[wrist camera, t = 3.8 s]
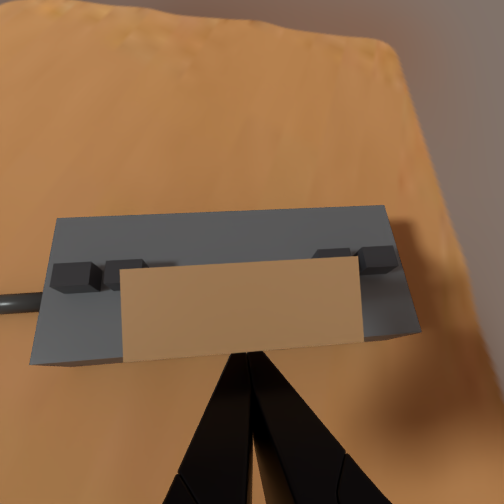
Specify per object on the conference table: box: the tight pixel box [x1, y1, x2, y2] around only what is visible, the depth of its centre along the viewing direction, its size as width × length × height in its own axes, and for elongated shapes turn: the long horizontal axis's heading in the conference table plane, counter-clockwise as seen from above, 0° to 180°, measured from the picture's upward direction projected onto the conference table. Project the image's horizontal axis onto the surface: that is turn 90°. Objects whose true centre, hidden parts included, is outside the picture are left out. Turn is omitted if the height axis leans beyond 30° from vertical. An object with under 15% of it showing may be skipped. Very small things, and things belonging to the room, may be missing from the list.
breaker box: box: [0, 205, 421, 367], centre depth 17 cm, size 8×28×5 cm, turn 95°
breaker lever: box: [120, 256, 364, 363], centre depth 11 cm, size 2×5×9 cm, turn 94°
